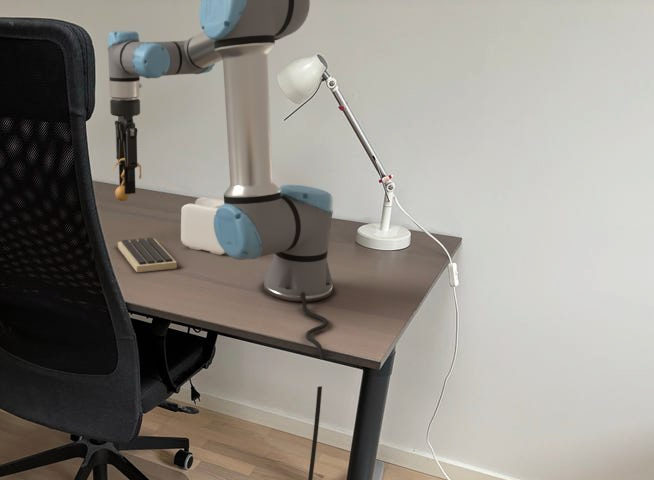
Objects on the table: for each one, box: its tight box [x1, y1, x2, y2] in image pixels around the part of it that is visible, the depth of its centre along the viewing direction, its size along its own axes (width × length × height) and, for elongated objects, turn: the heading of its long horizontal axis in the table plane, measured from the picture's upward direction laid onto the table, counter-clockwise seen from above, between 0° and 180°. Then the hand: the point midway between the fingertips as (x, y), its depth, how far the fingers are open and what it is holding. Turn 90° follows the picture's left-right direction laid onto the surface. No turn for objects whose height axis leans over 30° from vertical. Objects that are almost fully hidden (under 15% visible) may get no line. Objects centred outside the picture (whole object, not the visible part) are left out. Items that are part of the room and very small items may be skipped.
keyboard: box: [117, 237, 178, 273], centre depth 186 cm, size 19×10×2 cm, turn 18°
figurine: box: [113, 158, 142, 202], centre depth 194 cm, size 8×6×12 cm
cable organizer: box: [180, 196, 226, 256], centre depth 192 cm, size 15×11×12 cm
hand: (127, 190), depth 196 cm, fingers open, 5 cm apart
